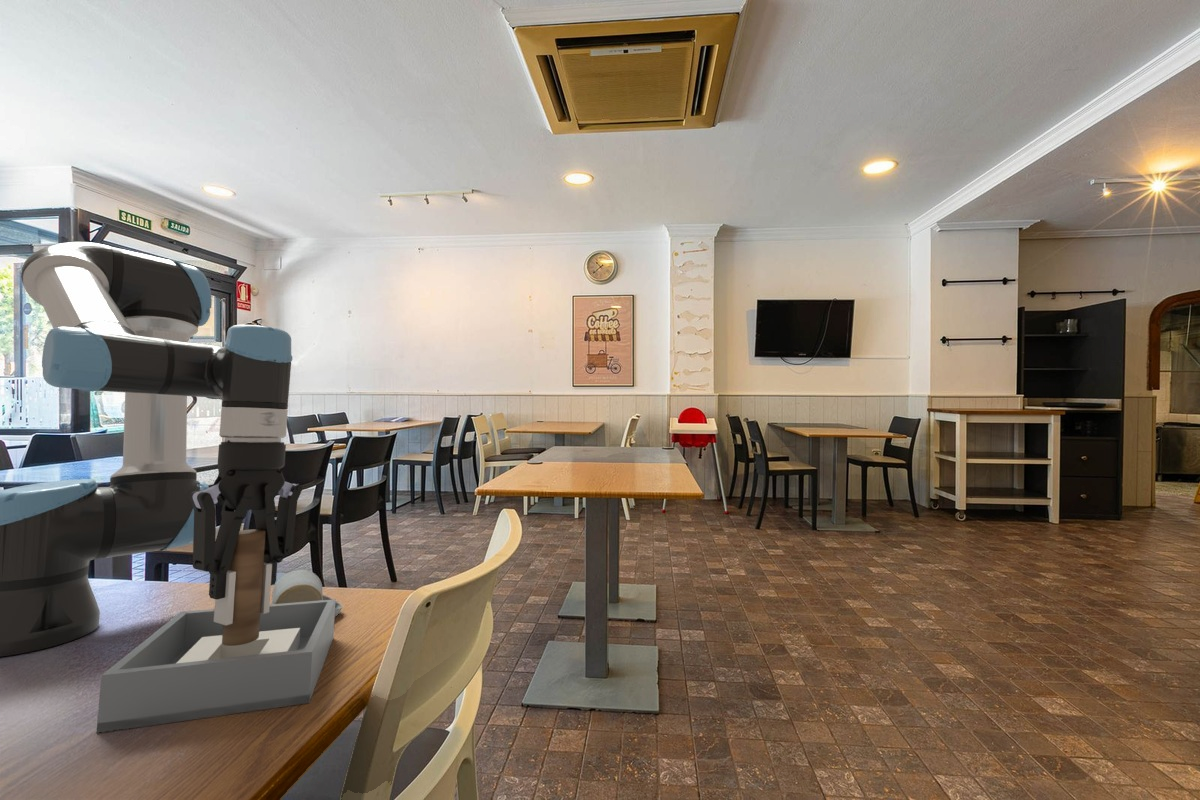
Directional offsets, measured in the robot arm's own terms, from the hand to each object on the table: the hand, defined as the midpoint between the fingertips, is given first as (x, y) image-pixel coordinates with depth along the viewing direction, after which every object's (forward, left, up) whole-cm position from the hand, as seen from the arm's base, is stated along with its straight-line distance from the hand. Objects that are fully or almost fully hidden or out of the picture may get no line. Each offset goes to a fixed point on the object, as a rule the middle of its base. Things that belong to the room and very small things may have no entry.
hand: (242, 616), depth 67 cm
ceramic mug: (-21, +4, -8) cm, 23 cm away
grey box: (0, 0, -8) cm, 8 cm away
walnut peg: (0, 0, -3) cm, 3 cm away
